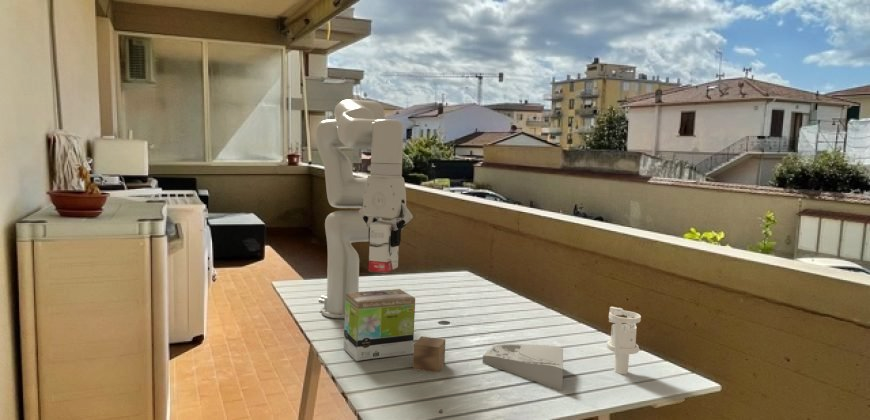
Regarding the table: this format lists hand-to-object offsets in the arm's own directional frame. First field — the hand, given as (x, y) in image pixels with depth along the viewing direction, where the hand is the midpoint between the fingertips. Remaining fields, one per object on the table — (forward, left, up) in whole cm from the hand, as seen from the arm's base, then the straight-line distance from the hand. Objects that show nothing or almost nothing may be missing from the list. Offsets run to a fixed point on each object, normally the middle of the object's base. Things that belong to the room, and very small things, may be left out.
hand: (384, 243), depth 137 cm
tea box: (-1, -1, -28) cm, 28 cm away
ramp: (+34, +11, -28) cm, 45 cm away
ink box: (0, 0, -7) cm, 7 cm away
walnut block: (+15, -2, -27) cm, 31 cm away
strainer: (+54, +21, -27) cm, 64 cm away
